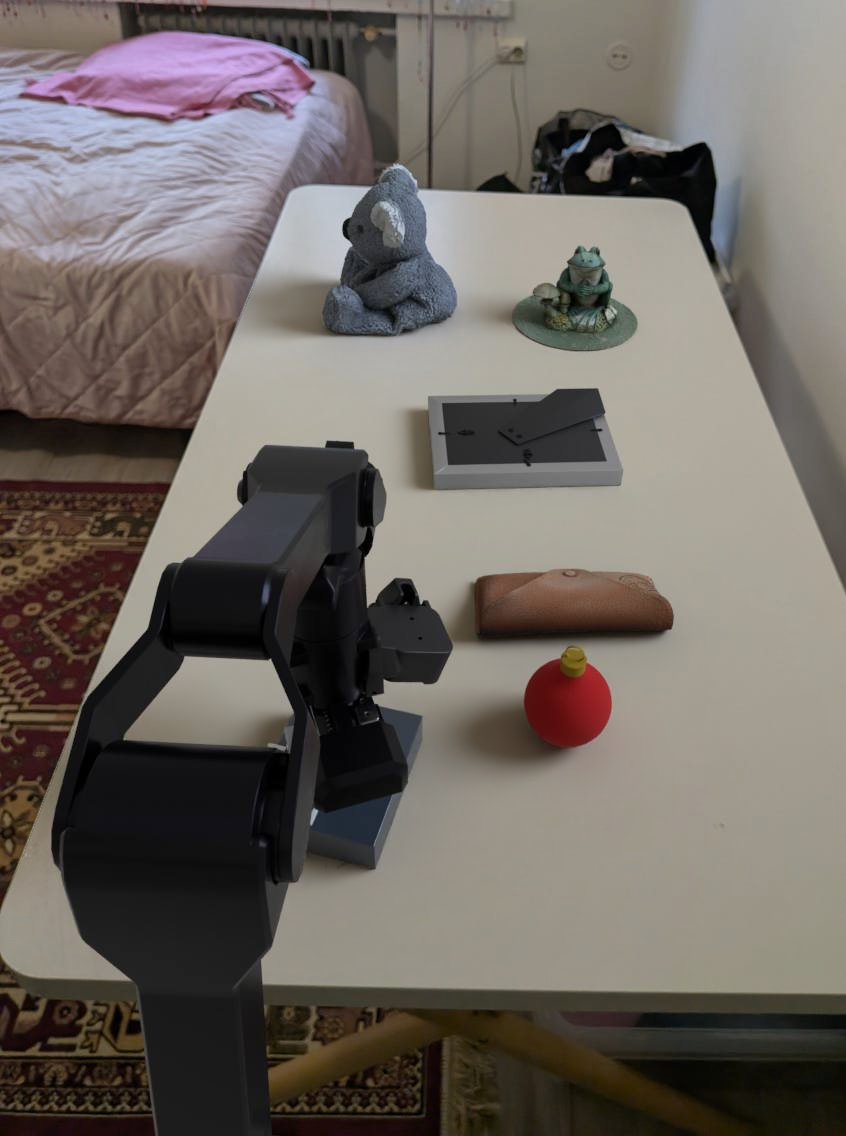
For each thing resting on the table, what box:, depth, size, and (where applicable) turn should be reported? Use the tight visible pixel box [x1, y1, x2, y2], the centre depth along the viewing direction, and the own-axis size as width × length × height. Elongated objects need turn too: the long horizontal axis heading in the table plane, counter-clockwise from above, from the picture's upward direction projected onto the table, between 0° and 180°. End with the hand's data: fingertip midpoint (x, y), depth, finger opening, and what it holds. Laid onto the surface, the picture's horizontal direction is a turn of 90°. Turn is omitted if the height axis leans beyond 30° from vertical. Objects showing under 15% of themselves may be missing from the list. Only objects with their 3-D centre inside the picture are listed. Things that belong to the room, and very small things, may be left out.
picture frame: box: [427, 387, 624, 490], centre depth 111 cm, size 16×3×21 cm
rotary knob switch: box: [266, 703, 424, 870], centre depth 74 cm, size 12×11×3 cm
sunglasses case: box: [474, 568, 675, 638], centre depth 89 cm, size 18×7×7 cm, turn 95°
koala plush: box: [321, 162, 458, 337], centre depth 130 cm, size 17×18×20 cm
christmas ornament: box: [523, 644, 613, 748], centre depth 76 cm, size 7×7×10 cm
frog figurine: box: [512, 245, 638, 352], centre depth 133 cm, size 18×18×12 cm
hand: (336, 757), depth 72 cm, fingers closed, pressing on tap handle
